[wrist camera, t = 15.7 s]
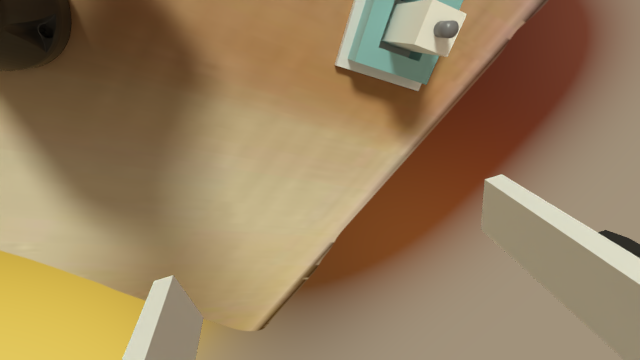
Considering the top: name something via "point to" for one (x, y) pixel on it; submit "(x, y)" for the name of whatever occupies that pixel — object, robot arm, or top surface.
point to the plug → (423, 27)
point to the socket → (382, 46)
